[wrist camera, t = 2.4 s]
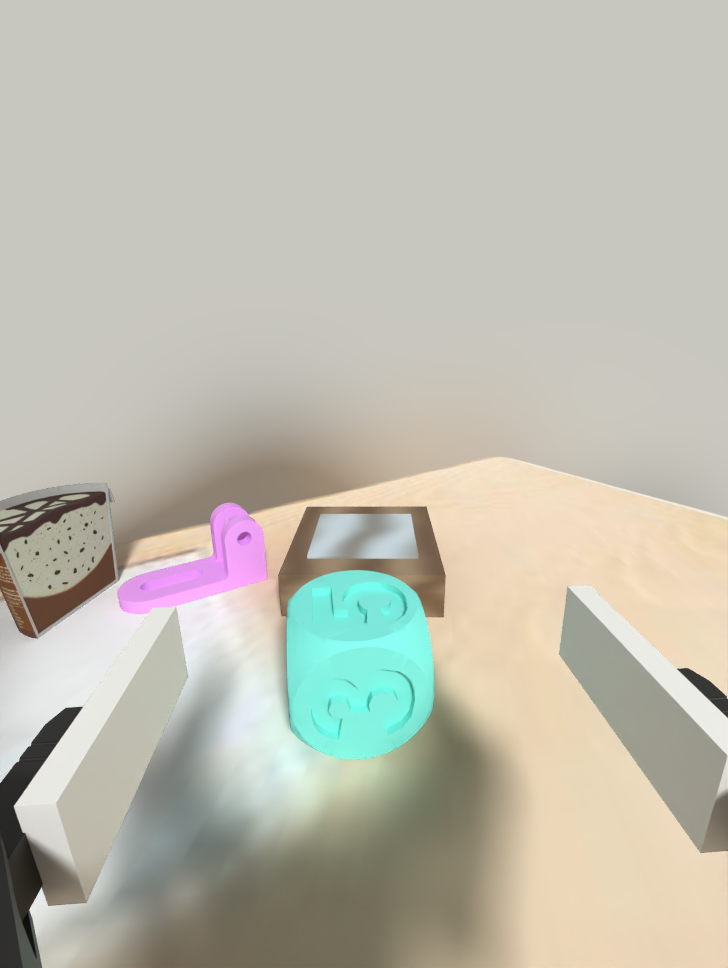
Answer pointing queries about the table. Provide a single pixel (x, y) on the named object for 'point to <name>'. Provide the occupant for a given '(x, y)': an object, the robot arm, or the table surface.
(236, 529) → the bracket
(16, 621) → the food container
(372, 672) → the decorative dice
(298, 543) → the plinth
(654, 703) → the robot arm
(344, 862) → the table surface
